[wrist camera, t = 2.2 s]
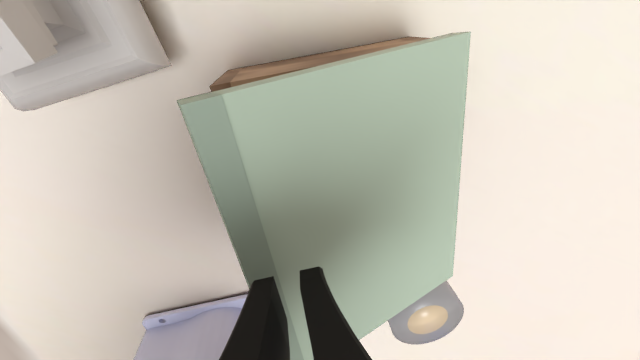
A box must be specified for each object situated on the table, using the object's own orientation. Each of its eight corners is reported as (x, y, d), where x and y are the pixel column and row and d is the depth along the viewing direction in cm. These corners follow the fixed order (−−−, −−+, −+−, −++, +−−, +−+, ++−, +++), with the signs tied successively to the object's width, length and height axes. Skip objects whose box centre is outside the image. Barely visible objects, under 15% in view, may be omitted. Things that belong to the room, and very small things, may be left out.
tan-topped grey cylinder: (372, 294, 25) (393, 351, 21) (367, 250, 23) (389, 303, 18) (429, 281, 25) (461, 335, 21) (430, 236, 23) (466, 286, 19)
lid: (281, 371, 14) (288, 389, 13) (176, 100, 8) (180, 105, 7) (440, 267, 18) (453, 276, 17) (451, 33, 12) (472, 31, 11)
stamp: (135, -114, 12) (-83, -335, 5) (208, 52, 15) (145, 75, 8) (-67, -44, 12) (-581, -153, 5) (46, 107, 16) (-165, 179, 8)
